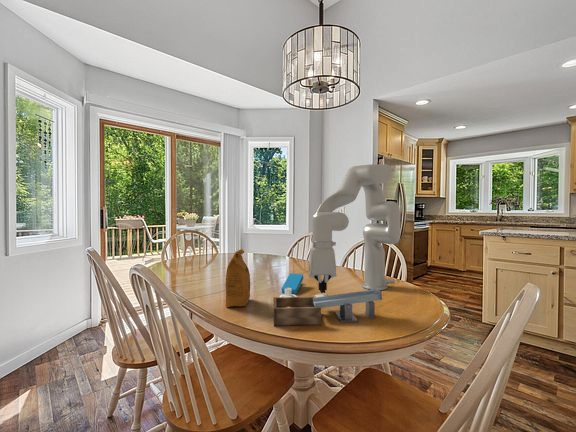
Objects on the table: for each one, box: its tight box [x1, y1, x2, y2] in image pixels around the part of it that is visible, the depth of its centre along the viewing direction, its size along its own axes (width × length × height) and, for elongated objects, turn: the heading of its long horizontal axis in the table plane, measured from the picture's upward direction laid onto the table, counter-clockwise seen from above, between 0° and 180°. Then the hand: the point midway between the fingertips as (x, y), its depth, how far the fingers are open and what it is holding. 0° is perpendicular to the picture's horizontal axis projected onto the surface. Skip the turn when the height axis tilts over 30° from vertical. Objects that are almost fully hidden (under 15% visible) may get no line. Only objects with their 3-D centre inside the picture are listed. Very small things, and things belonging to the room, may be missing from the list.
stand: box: [334, 301, 376, 323], centre depth 105 cm, size 13×10×6 cm
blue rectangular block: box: [281, 272, 304, 295], centre depth 141 cm, size 7×7×18 cm
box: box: [272, 296, 322, 327], centre depth 103 cm, size 16×12×6 cm
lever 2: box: [313, 287, 383, 309], centre depth 108 cm, size 24×12×3 cm, turn 93°
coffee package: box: [224, 248, 251, 308], centre depth 119 cm, size 10×12×22 cm
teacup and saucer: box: [278, 288, 298, 297], centre depth 128 cm, size 9×8×4 cm
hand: (322, 291), depth 113 cm, fingers closed
